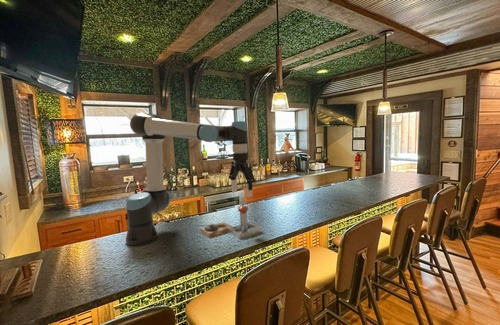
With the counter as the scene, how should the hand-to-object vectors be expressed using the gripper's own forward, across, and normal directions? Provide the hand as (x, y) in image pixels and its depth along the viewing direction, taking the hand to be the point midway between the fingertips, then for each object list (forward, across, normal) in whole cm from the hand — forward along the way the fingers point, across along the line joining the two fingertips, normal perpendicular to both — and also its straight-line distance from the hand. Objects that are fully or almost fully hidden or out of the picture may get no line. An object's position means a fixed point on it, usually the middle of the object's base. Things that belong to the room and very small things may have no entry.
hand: (241, 194), depth 127 cm
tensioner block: (+21, +11, +10) cm, 26 cm away
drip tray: (+21, -1, 0) cm, 21 cm away
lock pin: (+20, -1, 0) cm, 20 cm away
